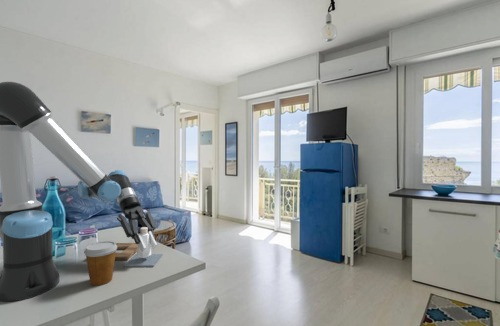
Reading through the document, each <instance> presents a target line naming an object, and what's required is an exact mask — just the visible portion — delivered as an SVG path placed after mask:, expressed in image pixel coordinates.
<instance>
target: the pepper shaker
mask: <svg viewBox="0 0 500 326" xmlns="http://www.w3.org/2000/svg"><path fill="white" fill-rule="evenodd" d="M139 230H140V231H139V232H140V233H139V234H140V235H141V237H142V240H143V242H144V244H145V246H146V249H145V250H144V252H141V250H140V247H139V245H138V250H137V252H136V254H137V256H138V257H139V258H145V257H149V256H150V255H151V254H152V246H151V244H150V237H149V234H148V228H147V227H143V226H142V227H140V229H139Z"/></svg>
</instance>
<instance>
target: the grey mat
mask: <svg viewBox="0 0 500 326" xmlns="http://www.w3.org/2000/svg"><path fill="white" fill-rule="evenodd" d="M161 256H162V257H163V254H162V253H151V255H150V256H149V257H145V258H139V257H138V256H137V253H135V254H134V255H133V256H131V257H130V258H129V259H128V260H127V262H126V263H125V264H124V265H123V268H154V267H155V266H156V264H157V263H158V262H159V260H160V259H162V257H161Z"/></svg>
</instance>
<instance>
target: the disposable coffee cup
mask: <svg viewBox="0 0 500 326" xmlns="http://www.w3.org/2000/svg"><path fill="white" fill-rule="evenodd" d="M116 243H117V242H116V241H112V240H105V241H97V242H94V243H93V242H92V243H90V244H88V245H87V246H86V247H85V249H84V251H83V253H84V254H85V257H86V258H85V259H86V265H87V270H88V277H89V283H90V285H91V286H96V287H97V286H102V285H105V284H108V283H110V282H111V281H113V275H114V268H115V261H116V260H115V253H117V252H116V251H117V250H116V249H117V245H116Z"/></svg>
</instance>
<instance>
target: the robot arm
mask: <svg viewBox="0 0 500 326" xmlns="http://www.w3.org/2000/svg"><path fill="white" fill-rule="evenodd" d="M44 103H45V102H43V101H42V99H40V97H38V95H37V94H36V93H35V92H34V91H33V90H32V89H31V88H29V87H28V86H26V85H24V84H22V83H19V82H14V81H2V82H0V187H1V188H0V189H1V197H2V199H1V200H2V205H0V239H1V241H2V271H1V274H0V301H1V302H14V301H20V300H25V299H29V298H33V297H36V296H39V295H41V294H44V293H46V292H48V291H51V290H52V289H54V288H55V287H56V286H57V285H58V284H59V283H60V281H61V279H60V272H59V270H58V269H57V266H56V264H55V262H54V258H53V256H54V255H53V225H54V222H53V216H52V213H50V212H48V211H44V209H43V208H44V207H43V203H42V202H41V201H39V200H38V199H37V193H36V181H35V172H34V160H33V159H34V158H33V151H32V150H33V148H32V139H31V135H32V136H33V137H35V138H36V140H37V141H39V143H41V144H42V146H43V147H45V148H46V149H47V151H49V152H50V153H51V154H53V156H54V157H55V158H56V159H58V161H60V163H61V164H63V166H64V167H65V168H67V169H68V170H69V171H70V172H71V173H72V174H73V175H74V176H75V177H76V178H77V179H78V183H77V192H78V196H79V197H80V198H81V199H91V198H95V199H99V200H101V201H103V202H112V201H115V200H117V203H118V206H119V209H120V210H121V212H122V213H119V214H118V216H117V217H116V220H117V221H118V222H119V223H120V225H121V228H122V230H123V232H124V233H125V235H126V237H127V238H131V239H132V240H134V243H136V244H138V245H139V247H140V250H141V252H144V250H145V249H146V246H145V244H144V242H143V240H142V237H141V235H140V234H141V233H138V231H137V230H138V229H137V224H136V221H137V222H138V223H139V224H141V226H142V227H147V228H148V234H149V237H150V246H151V249H155V248H156V247H157V246H158V244H157V242H156V236H155V235H156V234H155V233H154V231H155V230H156V228H157V226H156V224H155V221H154V219H153V217H152V215H151V209H149V208H148V209H144V208H143V207H142V206H141V202H140V200H139V199H138V196H137V193H136V192H135V189H134V188H133V186H132V184H131V181H130V179H129V176H128V175H127V174H126V172H125V171H123V170H122V169H117V170H114V171H111V172H109V173H108V175H107V174H106V173H105V172H104V171H103V170H102V169H101V167H100V166H99V165H98V164H97V163H96V162H95V161H94V160H93V159H92V157H91V156H90V155H88V153H86V151H84V150H83V148H82V147H81V146H80V145H79V144H78V143H77V142H76V140H74V139H73V138H72V137H71V135H70V134H68V133H67V132H66V131H65V129H63V127H62V126H61V125H60V124H59V123H58V121H56V119H54V118H53V111H51V109H49V108H48V106H47V105H46V104H44ZM127 219H128V221H127Z"/></svg>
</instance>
